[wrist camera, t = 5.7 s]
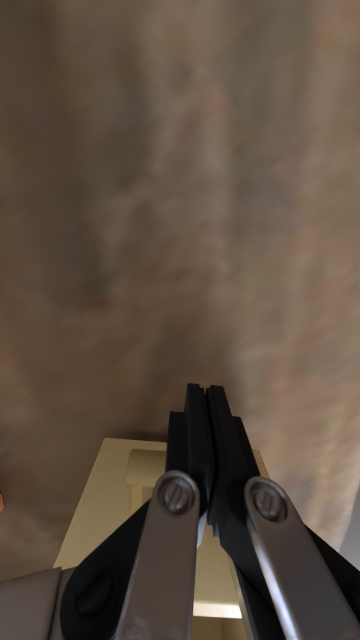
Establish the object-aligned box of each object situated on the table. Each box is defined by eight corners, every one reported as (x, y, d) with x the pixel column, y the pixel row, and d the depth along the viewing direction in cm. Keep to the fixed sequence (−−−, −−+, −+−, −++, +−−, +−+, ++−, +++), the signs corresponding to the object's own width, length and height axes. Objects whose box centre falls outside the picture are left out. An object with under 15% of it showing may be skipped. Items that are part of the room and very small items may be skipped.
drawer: (103, 387, 14) (28, 525, 7) (273, 402, 14) (361, 548, 7) (106, 547, 20) (65, 710, 13) (226, 555, 20) (251, 718, 13)
